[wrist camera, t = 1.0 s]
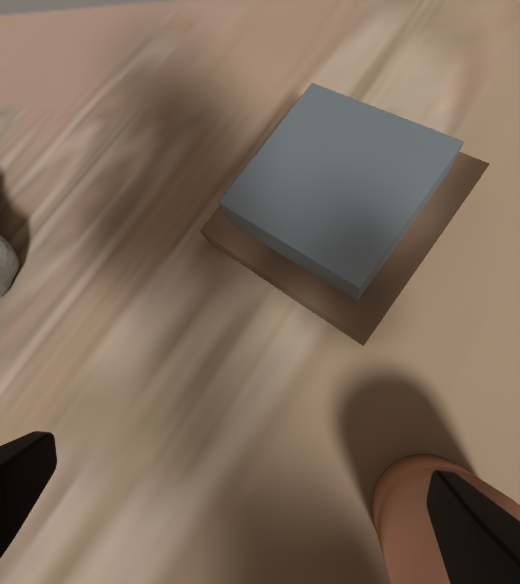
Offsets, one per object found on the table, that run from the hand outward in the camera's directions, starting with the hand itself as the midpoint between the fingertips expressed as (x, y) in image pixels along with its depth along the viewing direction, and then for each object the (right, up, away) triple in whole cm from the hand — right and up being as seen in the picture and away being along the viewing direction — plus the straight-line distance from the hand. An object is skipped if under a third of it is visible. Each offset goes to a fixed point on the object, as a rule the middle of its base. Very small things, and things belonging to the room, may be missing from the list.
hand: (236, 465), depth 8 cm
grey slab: (+5, +10, +12) cm, 16 cm away
